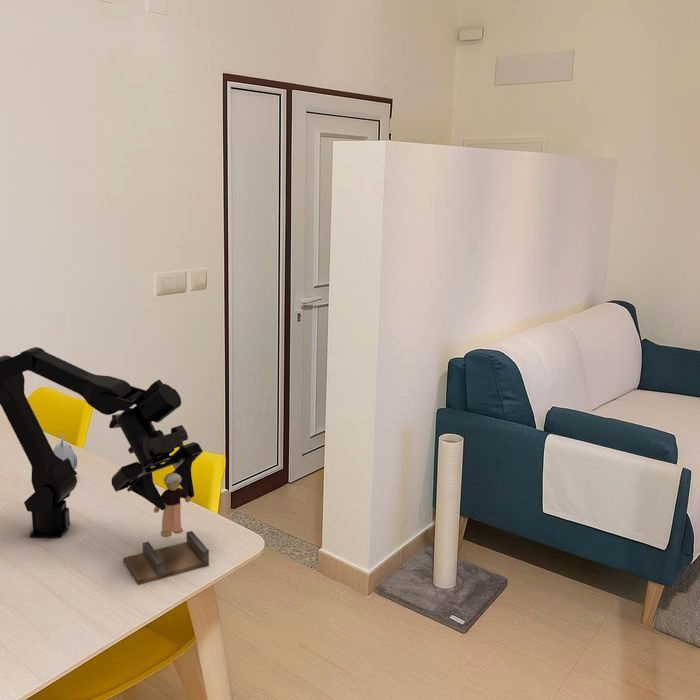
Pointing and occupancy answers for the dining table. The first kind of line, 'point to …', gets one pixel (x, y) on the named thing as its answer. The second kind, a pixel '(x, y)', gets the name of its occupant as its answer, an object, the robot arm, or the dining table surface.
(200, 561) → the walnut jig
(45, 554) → the dining table surface
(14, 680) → the dining table surface
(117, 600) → the dining table surface
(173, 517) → the grandmother figurine
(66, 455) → the toy figure
